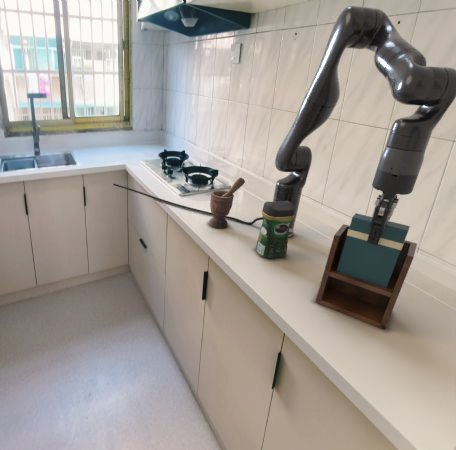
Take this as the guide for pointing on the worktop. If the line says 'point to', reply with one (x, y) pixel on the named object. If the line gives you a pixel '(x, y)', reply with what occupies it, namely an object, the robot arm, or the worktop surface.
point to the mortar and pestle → (222, 204)
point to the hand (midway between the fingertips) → (373, 240)
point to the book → (371, 251)
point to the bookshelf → (362, 286)
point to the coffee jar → (275, 229)
